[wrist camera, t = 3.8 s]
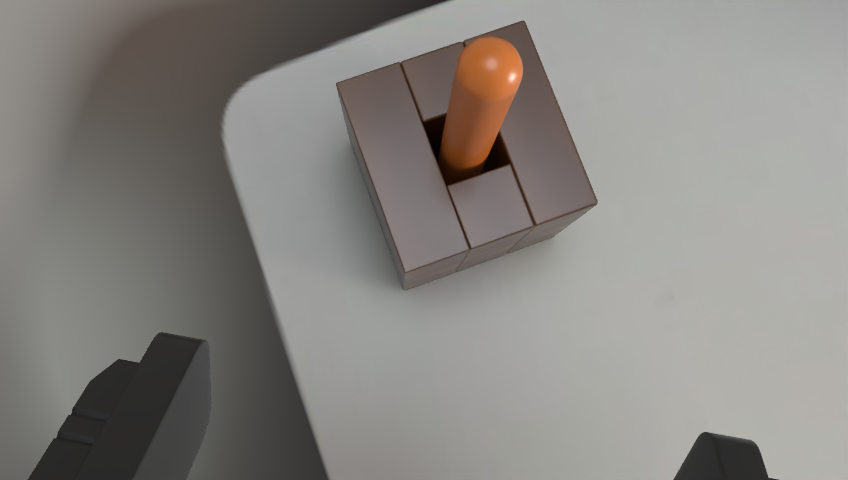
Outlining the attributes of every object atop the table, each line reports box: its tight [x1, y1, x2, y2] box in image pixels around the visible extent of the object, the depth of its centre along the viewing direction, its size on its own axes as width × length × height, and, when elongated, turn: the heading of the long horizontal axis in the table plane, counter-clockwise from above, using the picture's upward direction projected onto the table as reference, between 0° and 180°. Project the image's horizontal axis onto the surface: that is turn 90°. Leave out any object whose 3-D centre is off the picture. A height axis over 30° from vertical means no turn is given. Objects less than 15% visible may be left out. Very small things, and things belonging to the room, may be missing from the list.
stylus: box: [437, 36, 523, 187], centre depth 24 cm, size 2×2×14 cm
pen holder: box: [336, 21, 598, 290], centre depth 27 cm, size 7×7×7 cm
